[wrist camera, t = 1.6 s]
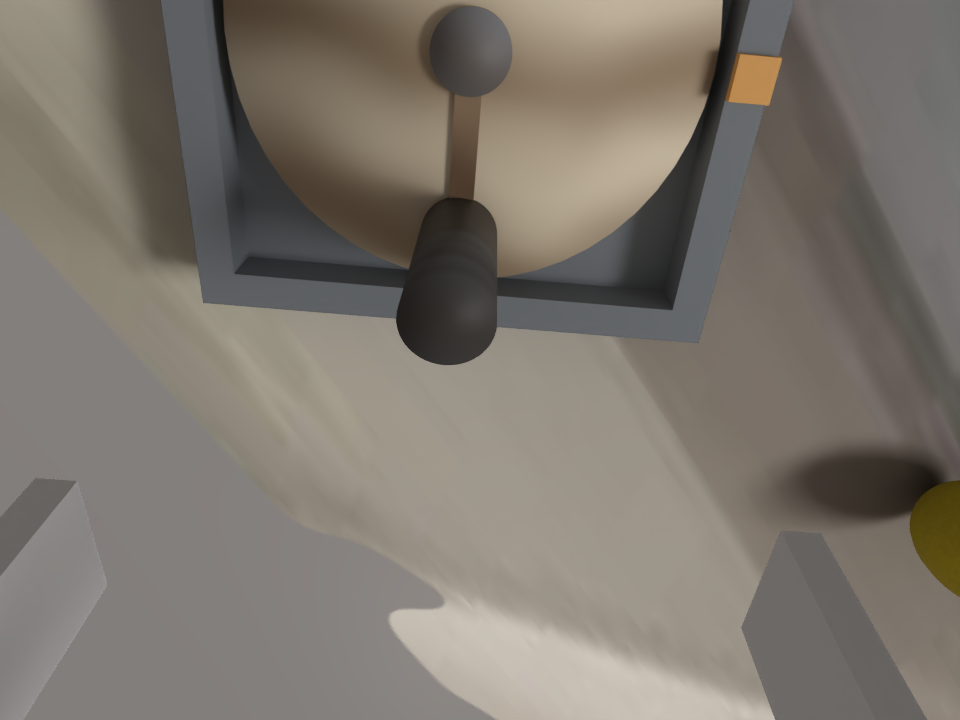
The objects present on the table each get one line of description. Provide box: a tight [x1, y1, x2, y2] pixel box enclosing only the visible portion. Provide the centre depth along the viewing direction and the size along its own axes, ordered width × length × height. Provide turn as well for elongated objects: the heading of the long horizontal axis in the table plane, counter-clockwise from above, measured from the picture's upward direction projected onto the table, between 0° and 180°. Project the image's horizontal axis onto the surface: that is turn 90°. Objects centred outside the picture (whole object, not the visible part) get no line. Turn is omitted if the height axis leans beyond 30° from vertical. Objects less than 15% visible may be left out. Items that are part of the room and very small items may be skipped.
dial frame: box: [161, 0, 794, 343], centre depth 26 cm, size 22×22×4 cm
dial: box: [223, 0, 723, 365], centre depth 22 cm, size 18×18×10 cm
